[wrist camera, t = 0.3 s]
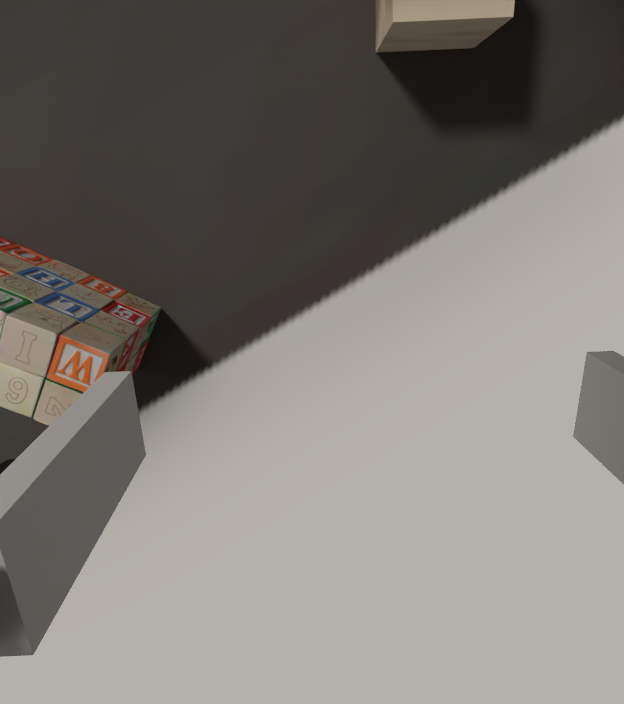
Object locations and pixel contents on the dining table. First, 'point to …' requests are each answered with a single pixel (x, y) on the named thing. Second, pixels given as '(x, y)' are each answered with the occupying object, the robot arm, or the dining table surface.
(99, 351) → the stack of blocks
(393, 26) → the maple block
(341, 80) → the dining table surface
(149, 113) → the dining table surface
